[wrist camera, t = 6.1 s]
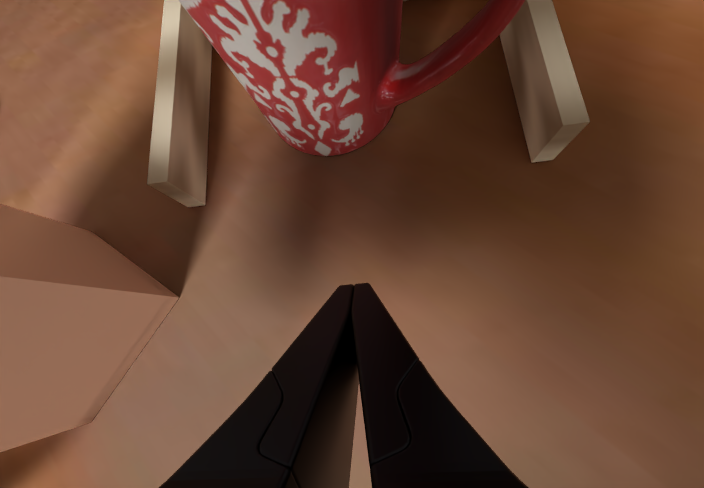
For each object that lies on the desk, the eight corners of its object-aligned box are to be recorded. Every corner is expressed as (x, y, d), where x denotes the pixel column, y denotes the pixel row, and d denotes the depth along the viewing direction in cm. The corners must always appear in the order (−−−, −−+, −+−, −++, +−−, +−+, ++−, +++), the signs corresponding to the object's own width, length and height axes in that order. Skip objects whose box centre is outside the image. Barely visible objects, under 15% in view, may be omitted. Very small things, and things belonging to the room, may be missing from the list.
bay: (553, 159, 15) (590, 121, 12) (188, 207, 17) (147, 184, 14) (501, -31, 18) (521, -97, 16) (198, 28, 20) (166, -21, 18)
